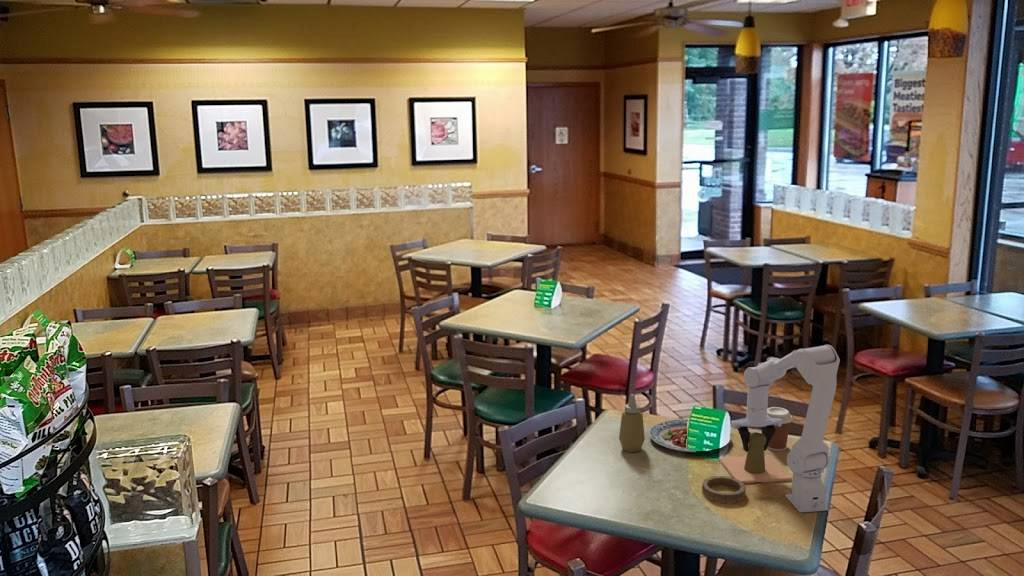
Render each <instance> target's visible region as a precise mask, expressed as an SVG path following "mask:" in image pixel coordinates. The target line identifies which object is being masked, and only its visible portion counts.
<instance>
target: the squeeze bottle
mask: <svg viewBox="0 0 1024 576" xmlns="http://www.w3.org/2000/svg"><path fill="white" fill-rule="evenodd" d="M628 400H629V401H628V403H627V404H625V405H624V410H623V411H622V413H621V419H620V425H619V426H620V427H619V434H618V435H619V437H618V438H619V439H618V440H619V441H620V442H619V443H620V446H621V448H622V449H623V450H624V451H626V452H630V453H636V452H640V451H641V450H642V449H643V445H644V443H645V426H644V416H643V414H644V413H642V411H640V409H641V407H640V405H639V404H638V403H637V402H636V397H635V394H632V393H631V394H630V395H629V399H628Z"/></svg>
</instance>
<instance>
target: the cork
mask: <svg viewBox="0 0 1024 576" xmlns="http://www.w3.org/2000/svg"><path fill="white" fill-rule="evenodd" d="M750 433H751V434H750V437H749V449H748V452H746V453H747V454H746V456H747V457H746V461H745V466H744V469H745V470H746V471H748V472H751V473H763V472H765V457H764V455H765V451H764V445H765V444H766V437H765V435H763V434H762V432H756V431H755V432H754V431H753V432H750Z"/></svg>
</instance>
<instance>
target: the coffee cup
mask: <svg viewBox="0 0 1024 576" xmlns="http://www.w3.org/2000/svg"><path fill="white" fill-rule="evenodd" d="M767 418H780V419H781V420H782V424H781V426H780V427H778V426H774V428H775V429H776V431H775V433H774V435H773V436H772V438H771V439H770V442H769V444H768V447H767V449H768V450H770V451H775V452H781V451H785V450H786V449H787V446H788V445H787V444H788V438H789V432H790V431H789V430H790V424H791V422H793V416H792V414H790V411H789V410H788V409H786V408H783V407H777V406H771V407H767Z"/></svg>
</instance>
